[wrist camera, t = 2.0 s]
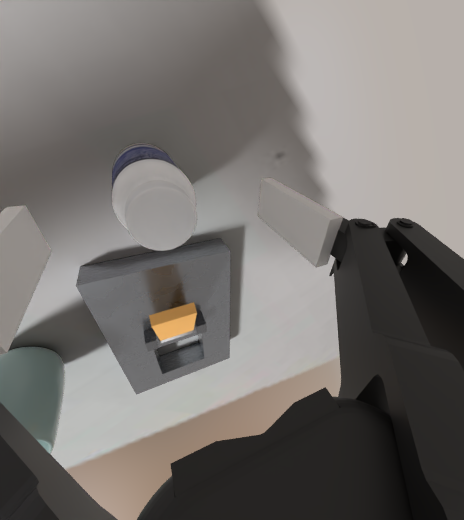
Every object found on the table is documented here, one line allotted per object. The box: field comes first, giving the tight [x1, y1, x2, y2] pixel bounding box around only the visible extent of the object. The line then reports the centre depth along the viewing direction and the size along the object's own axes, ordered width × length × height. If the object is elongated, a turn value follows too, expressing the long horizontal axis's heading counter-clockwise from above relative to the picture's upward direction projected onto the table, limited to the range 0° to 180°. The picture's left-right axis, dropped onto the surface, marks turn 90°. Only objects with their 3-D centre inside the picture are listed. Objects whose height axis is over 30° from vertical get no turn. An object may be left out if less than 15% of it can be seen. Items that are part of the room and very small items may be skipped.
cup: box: [0, 347, 65, 454], centre depth 22 cm, size 8×8×10 cm
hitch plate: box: [76, 238, 231, 394], centre depth 29 cm, size 15×22×5 cm
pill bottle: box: [112, 143, 197, 251], centre depth 16 cm, size 5×5×10 cm
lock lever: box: [149, 302, 197, 344], centre depth 24 cm, size 4×10×1 cm, turn 179°
